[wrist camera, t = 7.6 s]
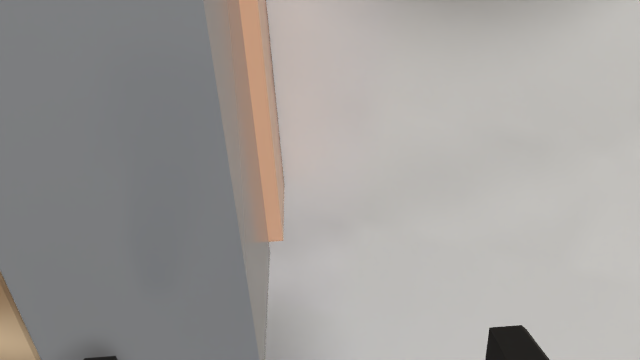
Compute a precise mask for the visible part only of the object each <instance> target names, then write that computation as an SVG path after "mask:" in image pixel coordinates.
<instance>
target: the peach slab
mask: <svg viewBox="0 0 640 360" xmlns="http://www.w3.org/2000/svg"><path fill="white" fill-rule="evenodd" d="M239 6H240V14H241V22H242V30H243V38H244V46H245V54H246V62H247V70H248V78H249V87H250V95H251V103H252V111H253V119H254V127H255V135H256V143H257V151H258V159H259V167H260V176H261V184H262V192H263V200H264V208H265V216H266V224H267V232H268V240H269V242H270V241H283V228H284V177H283V167H282V157H281V147H280V137H279V127H278V117H277V107H276V96H275V86H274V76H273V66H272V56H271V46H270V36H269V26H268V16H267V6H266V0H239Z"/></svg>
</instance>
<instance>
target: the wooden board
mask: <svg viewBox="0 0 640 360" xmlns="http://www.w3.org/2000/svg"><path fill="white" fill-rule="evenodd" d="M0 360H41V359H40V357H39V355H38V353H37V350H36V348H35V346H34V344H33V342H32V339H31V337H30V335H29V333H28V331H27V329H26V326H25V324H24V322H23V320H22V318H21V315H20V313H19V311H18V309H17V307H16V305H15V302H14V300H13V298H12V296H11V294H10V291H9V289H8V287H7V285H6V283H5V281H4V278H3V276H2V274H1V272H0Z"/></svg>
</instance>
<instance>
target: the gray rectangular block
mask: <svg viewBox="0 0 640 360" xmlns="http://www.w3.org/2000/svg"><path fill="white" fill-rule="evenodd" d="M269 262H270V248H269V240H268V232H267V224H266V216H265V208H264V200H263V192H262V184H261V176H260V167H259V159H258V151H257V143H256V135H255V127H254V119H253V111H252V103H251V95H250V87H249V78H248V70H247V62H246V54H245V46H244V38H243V30H242V22H241V14H240V6H239V0H0V271H1V273H2V275H3V277H4V279H5V281H6V284H7V286H8V288H9V290H10V292H11V295H12V297H13V299H14V301H15V303H16V306H17V308H18V310H19V312H20V314H21V316H22V319H23V321H24V323H25V325H26V327H27V330H28V332H29V334H30V336H31V338H32V341H33V343H34V345H35V347H36V349H37V352H38V354H39V356H40V358H41V360H84V358H94V357H107V356H116V357H117V360H265V345H266V324H267V304H268V283H269Z"/></svg>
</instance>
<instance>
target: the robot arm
mask: <svg viewBox="0 0 640 360" xmlns="http://www.w3.org/2000/svg"><path fill="white" fill-rule="evenodd" d="M84 360H117V357H116V356H107V357H94V358H84ZM486 360H549V358H548V357H547V356H546V355H545V353H544V352H543V351H542V349H541V348H540V347H539V346H538V344H537V343H536V342H535V340H534V339H533V338H532V336H531V335H530V334H529V332H528V331H527V330H526V329H525V328H524V327H523V326H522V325H519V326H506V327H493V328H489V336H488V344H487V352H486Z"/></svg>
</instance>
